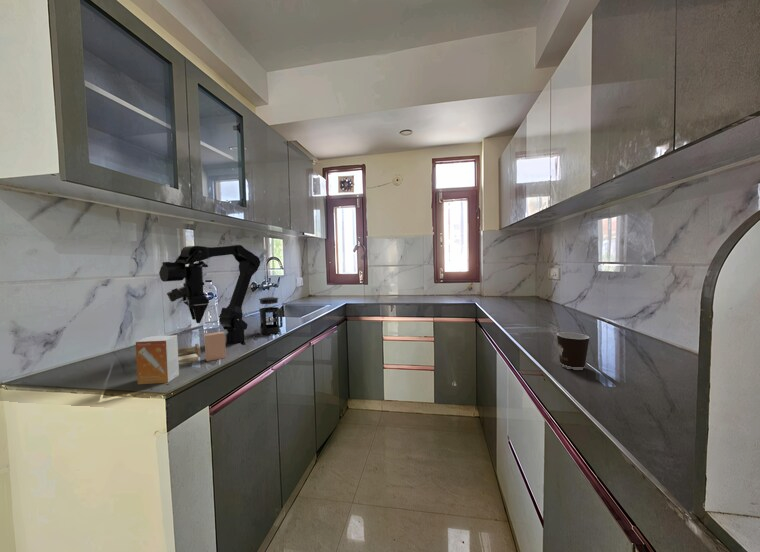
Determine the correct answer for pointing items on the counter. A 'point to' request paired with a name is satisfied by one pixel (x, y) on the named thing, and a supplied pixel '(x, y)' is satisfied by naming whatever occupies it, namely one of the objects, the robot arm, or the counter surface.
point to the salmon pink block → (215, 346)
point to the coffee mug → (572, 348)
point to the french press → (271, 327)
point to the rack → (190, 350)
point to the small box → (157, 359)
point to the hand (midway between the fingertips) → (196, 321)
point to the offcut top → (187, 359)
